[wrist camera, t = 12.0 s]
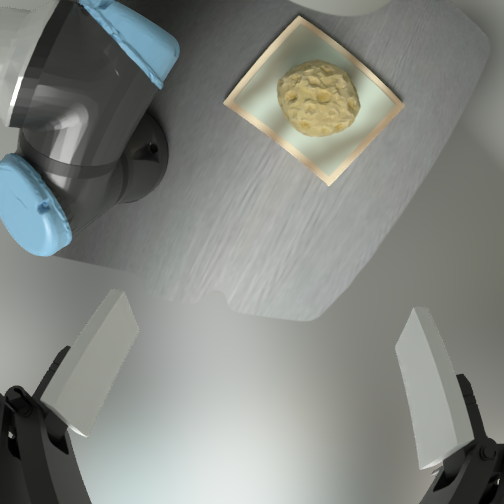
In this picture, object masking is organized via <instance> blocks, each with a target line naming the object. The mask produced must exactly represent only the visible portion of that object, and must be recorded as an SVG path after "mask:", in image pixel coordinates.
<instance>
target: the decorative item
mask: <svg viewBox="0 0 504 504" xmlns="http://www.w3.org/2000/svg"><path fill="white" fill-rule="evenodd" d="M277 98H278V103H279V106H280V107H281V110H282V112H283V114H284V117H285V118H286V119H287V120H288V122H289V123H290V124H291V125H292V126H293V127H294V128H295V129H296V130H297V131H298V132H300V133H302V134H303V135H306V136H310V137H314V136H315V137H325V136H329V135H332V134H334V133H339V132H341V131H343V130H344V129H346V128H348V127H350V126H351V125H352V123H353V122H354V121H355V118H356V116H357V114H358V112H359V110H360V108H361V105H360V102H359V96H358V93H357V89H356V87H355V85H354V83H353V81H352V80H351V78H350V77H349V76H348V75H347V73H346V72H345V71H344V70H342V69H341V68H339V67H337V66H336V65H334V64H330V63H329V62H326V61H323V60H319V59H316V60H311V61H308V62H304V63H303V64H300V65H297V66H295V67H293V68H292V69H290V71H289V72H286V73H285V75H284V76H282V77H281V78H280V79H279V80H278V84H277Z"/></svg>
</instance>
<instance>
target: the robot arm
mask: <svg viewBox="0 0 504 504" xmlns="http://www.w3.org/2000/svg"><path fill="white" fill-rule="evenodd" d="M179 53H180V47H179V44H178V42H177V40H176V39H175V38H174V37H173V36H172V35H170V34H169V33H168V32H166V31H165V30H164V29H162V28H161V27H159V26H158V25H156V24H155V23H153V22H152V21H150V20H148V19H147V18H145V17H144V16H142V15H140V14H139V13H137V12H135V11H134V10H132V9H130V8H128V7H126V6H125V5H123V4H121V3H119V2H117V1H115V0H78V1H77V2H73V1H69V0H53V1H51V2H49V3H47V4H45V5H43V6H42V7H40V8H38V9H35V10H32V11H31V10H25V9H16V8H8V7H0V118H1V119H2V121H3V123H4V124H5V126H6V127H17V128H22V132H21V136H20V140H19V144H18V148H17V150H16V152H15V153H10V154H7V155H5V157H4V158H3V159H2V160H1V161H0V217H1V219H2V221H3V223H4V225H5V227H6V228H7V230H8V231H9V233H10V234H11V236H12V237H13V238H14V239H15V240H16V241H17V243H18V244H19V245H20V246H22V247H23V248H24V249H26V250H27V251H28V252H30V253H32V254H34V255H37V256H50V255H52V254H54V253H55V252H57V251H58V250H60V249H61V248H63V247H64V246H66V245H68V244H69V243H70V242H71V240H72V239H73V238H75V237H76V236H77V235H78V234H79V233H80V232H82V231H83V230H84V229H85V228H86V227H87V226H89V225H90V224H91V223H92V222H94V221H95V220H96V219H97V218H98V217H100V216H101V215H102V214H103V213H105V212H106V211H107V210H109V209H110V208H111V207H112V206H114V205H116V204H121V203H131V202H135V201H138V200H140V199H142V198H143V197H145V196H146V195H148V194H149V193H150V192H152V191H153V190H154V189H155V188H156V187H157V186H158V185H159V183H160V182H161V180H162V178H163V176H164V174H165V171H166V168H167V163H168V147H167V142H166V138H165V136H164V133H163V131H162V129H161V128H160V126H159V125H158V123H157V122H156V121H155V120H154V119H153V118H152V117H151V116H150V115H149V114H147V113H146V112H145V111H146V110H147V108H148V106H149V105H150V103H151V101H152V100H153V98H154V96H155V95H156V93H157V92H158V90H159V89H162V87H163V82H164V80H165V78H166V77H167V75H168V73H169V72H170V70H171V68H172V67H173V65H174V64H175V62H176V61H177V59H178V57H179ZM139 331H140V330H139V328H138V326H137V323H136V320H135V318H134V315H133V313H132V310H131V308H130V305H129V302H128V299H127V296H126V293H125V291H124V290H118V289H111V290H110V292H109V293H108V295H107V296H106V297H105V298H104V300H103V302H102V303H101V304H100V306H99V307H98V308H97V310H96V311H95V313H94V314H93V315H92V317H91V318H90V320H89V321H88V323H87V324H86V326H85V327H84V328H83V330H82V331H81V333H80V334H79V336H78V337H77V339H76V341H75V342H74V344H73V345H72V347H70V346H66V347H65V348H64V349H62V350H61V351H60V352H59V353H58V355H57V356H56V358H55V360H54V361H53V363H52V364H51V366H50V367H49V370H48V371H47V372H46V374H45V376H44V377H43V379H42V381H41V382H40V384H39V386H38V388H37V389H36V391H35V393H34V394H33V396H32V397H31V396H30V395H29V394H28V393H27V392H26V391H25V390H24V389H23V388H22V387H21V386H13V387H11V388H9V389H8V391H7V392H6V394H5V396H2V394H1V393H0V504H92V503H91V501H90V498H89V496H88V493H87V491H86V488H85V485H84V482H83V480H82V477H81V474H80V471H79V468H78V465H77V462H76V458H75V455H74V451H73V448H72V444H71V440H70V437H69V433H68V431H67V427H68V426H69V427H70V428H71V429H72V430H73V431H75V432H76V433H79V434H80V435H82V436H85V437H87V438H88V437H89V435H90V433H91V430H92V428H93V426H94V424H95V421H96V419H97V417H98V414H99V412H100V410H101V408H102V406H103V403H104V401H105V399H106V397H107V395H108V393H109V391H110V389H111V387H112V384H113V382H114V380H115V378H116V376H117V374H118V372H119V370H120V368H121V366H122V364H123V361H124V360H125V358H126V356H127V354H128V352H129V350H130V348H131V346H132V344H133V342H134V340H135V339H136V336H137V335H138V333H139ZM395 350H396V354H397V357H398V361H399V365H400V368H401V372H402V377H403V381H404V385H405V389H406V394H407V398H408V403H409V408H410V413H411V418H412V423H413V429H414V435H415V441H416V447H417V454H418V462H419V469H424V468H428V467H431V466H435V465H437V464H438V463H440V462H442V461H443V466H441V467H439V468H438V469H436V470H434V471H433V473H432V474H431V475H432V476H433V475H434V474H437V473H438V474H437V476H436V478H435V479H434V481H433V483H432V485H431V486H430V488H429V490H428V491H427V493H426V494H425V496H424V497H423V499H422V501H421V502H420V503H419V504H504V444H496V442H495V441H494V440H493V439H491V438H488V437H487V436H486V433H485V431H484V426H483V422H482V419H481V415H480V412H479V409H478V405H477V404H476V399H475V396H474V395H473V390H472V387H471V384H470V382H469V381H468V380H467V378H466V377H465V376H464V374H459V375H455V372H454V369H453V367H452V364H451V361H450V358H449V356H448V353H447V351H446V348H445V346H444V343H443V341H442V338H441V336H440V334H439V332H438V329H437V327H436V325H435V322H434V320H433V318H432V316H431V314H430V312H429V310H428V307H414V308H413V310H412V312H411V314H410V317H409V319H408V321H407V324H406V326H405V328H404V330H403V332H402V334H401V336H400V338H399V340H398V342H397V344H396V346H395ZM9 432H11V433H12V434H13V436H12V438H10V437H8V434H9ZM498 479H500V480H499V485H498V484H497V481H498Z"/></svg>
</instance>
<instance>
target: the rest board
mask: <svg viewBox="0 0 504 504" xmlns="http://www.w3.org/2000/svg"><path fill="white" fill-rule="evenodd" d="M316 59H319V60H323V61H326V62H329V63H330V64H334V65H336V66H337V67H339V68H341V69H342V70H344V71H345V72H346V73H347V75H348V76H349V77H350V78H351V80H352V81H353V83H354V85H355V87H356V89H357V93H358V96H359V102H360V105H361V108H360V110H359V112H358V114H357V116H356V118H355V121H354V122H353V123H352V125H351V126H350V127H348V128H346V129H344V130H343V131H341V132H339V133H334V134H332V135H329V136H325V137H315V136H314V137H310V136H306V135H303V134H302V133H300V132H298V131H297V130H296V129H295V128H294V127H293V126H292V125H291V124H290V123H289V122H288V120H287V119H286V118H285V117H284V114H283V112H282V110H281V107H280V106H279V103H278V98H277V84H278V80H279V79H280V78H281V77H282V76H284V75H285V73H286V72H289V71H290V69H292V68H293V67H295V66H297V65H300V64H303V63H304V62H308V61H311V60H316ZM223 104H225V105H226V106H228V107H229V108H230V109H232V110H233V111H235V112H236V113H238V114H239V115H240V116H242V117H243V118H245V119H246V120H247V121H249V122H250V123H252V124H253V125H254V126H256V127H257V128H258V129H260V130H261V131H262V132H264V133H265V134H266V135H268V136H269V137H270V138H272V139H273V140H274V141H275V142H277V143H278V144H279V145H281V146H282V147H283V148H284V149H286V150H287V151H288V152H289V153H291V154H292V155H293V156H294V157H296V158H297V159H298V160H299V161H300V162H302V163H303V164H304V165H305V166H306V167H308V168H309V169H310V170H311V171H312V172H314V173H315V174H316V175H317V176H318V177H319V178H321V179H322V180H323V181H324V182H325V183H326V184H327V185H328V186H330V185H331V184H332V183H333V182H334V181H335V180H336V179H337V178H338V177H339V175H340V174H341V173H342V172H343V171H344V170H345V169H346V168H347V167H348V166H349V165H350V164H351V163H352V162H353V161H354V160H355V159H356V158H357V156H358V155H359V154H360V153H361V152H362V151H363V150H364V149H365V148H366V147H367V146H368V145H369V144H370V143H371V142H372V141H373V139H374V138H375V137H376V136H377V135H378V134H379V133H380V132H381V131H382V130H383V129H384V128H385V127H386V126H387V125H388V123H389V122H390V121H391V120H392V119H393V118H394V117H395V116H396V115H397V114H398V113H399V112H400V111H401V109H402V108H403V107H404V106H405V105H404V104H403V103H402V102H401V101H400V100H399V99H398V98H397V97H396V96H395V95H394V94H393V93H392V91H391V90H390V89H389V88H388V87H387V86H386V85H385V84H384V83H383V82H381V81H380V80H379V79H378V78H377V77H376V76H375V75H374V74H373V73H372V72H371V71H370V70H369V69H368V68H367V67H365V66H364V65H363V64H362V63H361V62H360V61H359V60H357V59H356V58H355V57H354V56H353V55H352V54H350V53H349V52H348V51H347V50H346V49H344V48H343V47H342V46H341V45H339V44H338V43H337V42H335V41H334V40H333V39H332V38H330V37H329V36H328V35H326V34H325V33H324V32H322V31H321V30H319V29H318V28H317V27H315V26H314V25H312V24H311V23H309V22H308V21H306V20H305V19H303V18H302V17H300V16H298V17H297V18H296V19H295V20H294V21H293V22H292V23H291V24H290V25H289V26H288V27H287V28H286V29H285V30H284V31H283V32H282V33H281V34H280V36H279V37H278V38H277V39H276V40H275V41H274V42H273V43H272V44H271V45H270V47H269V48H268V49H267V50H266V51H265V52H264V53H263V55H262V56H261V57H260V58H259V59H258V60H257V61H256V63H255V64H254V65H253V66H252V67H251V69H250V70H249V71H248V72H247V73H246V75H245V76H244V77H243V78H242V80H241V81H240V82H239V83H238V85H237V86H236V87H235V88H234V90H233V91H232V92H231V94H230V95H229V96H228V97H227V99H226V100H225V101H224V103H223Z"/></svg>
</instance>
